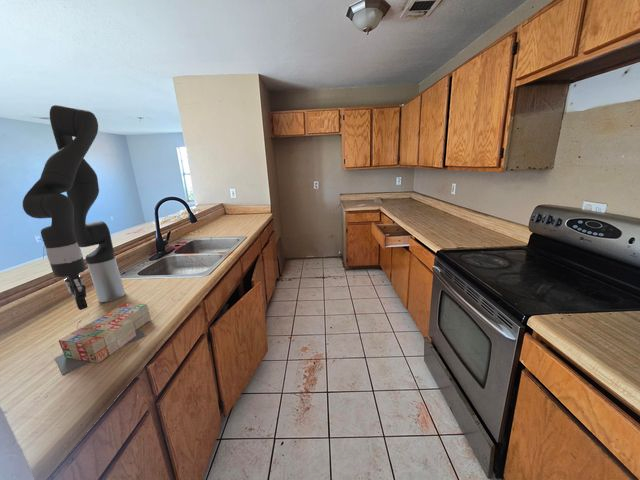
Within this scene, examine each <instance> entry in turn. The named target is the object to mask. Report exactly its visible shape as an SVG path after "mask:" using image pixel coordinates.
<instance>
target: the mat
mask: <svg viewBox="0 0 640 480" xmlns="http://www.w3.org/2000/svg"><path fill="white" fill-rule="evenodd" d="M135 332H136V336H135V337H134V338H132V339H131V340H130V341H128V342H127V343H126V344H125V345H123V346H122V347H121V348H123V347H125V346H126V345H129V344H131V343H133V342H135V341H137V340H139V339H142V338H143V337H146V336H147V334H146V333H144V332H143V331H142V330H141V328H138V329H137V330H135ZM54 360H55V361H56V364H57V366H58V368H59V370H60V371H61V375H63V376H64V375H66V374H68V373H70V372H73V371H74V370H77V369H79V368H81V367H83V366H85V365H88V364H89V363H90V362H88V361H82V360H76V359H68V358H65V356H64V353H63V354H61V355H58V356H56V357H54Z"/></svg>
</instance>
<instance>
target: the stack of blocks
mask: <svg viewBox="0 0 640 480" xmlns="http://www.w3.org/2000/svg"><path fill="white" fill-rule="evenodd" d="M149 321H151V314H150V311H149V307H148V304H145V303H124V304H123V305H120V306H119V307H116V308H114V309H113V310H111V311H109V312H108V313H106V314H104V315H102V316H101V317H99V318H97V319H96V320H94V321H92V322H90V323H88V324H86V325H84V326H82V327H80V328H78V329H76V330H74V331H73V332H71V333H70V334H67V335H66V336H64V337H61V338H60V339H58V342H59V346H60V348H61V350H62V353H63V354H64V356H65V358H68V359H76V360H82V361H88V362H89V363H97V364H99V363H101V362H102V361H103V360H105V359H106V358H108V357H109V356H111V355H112V354H114V353H115V352H117V350H119V349H121V348H123V347H124V346H123V345H125V344H126V343H127V342H128V341H130V340H131V339H132V338H134V337H135V336H136V332H135V330H137V329H141V327H142V326H144V325H145V324H146V323H148V322H149ZM122 346H123V347H122ZM125 346H126V345H125Z"/></svg>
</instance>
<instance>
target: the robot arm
mask: <svg viewBox="0 0 640 480" xmlns="http://www.w3.org/2000/svg"><path fill="white" fill-rule="evenodd" d="M49 121H50V126H51V129H52V134H53V136H54V140H55V144H56V146H57V151H55V152H54V153H53V154H52V155H51V156H49V157H48V159H47V160H46V161H45V164H44V167H43V170H42V172H41V174H40V178H39V179H38V180H37V181H36V182H35V183H34V184H33V185H32V187H31V188H30V189H29V190H28V192H26V194H25V196H24V197H23V200H22V209H23V211H24V213H25V214H26V215H28V216H29V217H31V218H34V219H51V225H49V226H45V227H43V228H42V229H40V235H41V239H42V240H43V244H44V246H45V250H46V256H47V259H48V261H49V265H50V267H51V270H52V273H53V275H54V277H56V278H65V279H63V282H64V284H65V285H66V287H67V290H68V292H69V293H70V295H71V296H72V299H73V300H74V301H75V303H76V304H75V305H76V307H77V309H78V310H79V311H82V310H85V309H88V306H89V305H88V303H87V300H86V297H87V292H86V291H87V290H86V285H85V284H84V283H85V280H84V278H83V276H81V275H79V274H81V273H83V272H85V271H86V270H87V268H88V271H89V274H90V276H91V277H90V278H91V280H92V284H93V287H94V290H95V293H96V296H97V300H98V302H99V303H110V302H114V301H116V300H119V299H121V298H123V297H124V296H125V295H126V291H125V288H124V284H123V280H122V276H121V273H120V270H119V267H118V264H117V263H118V262H117V260H116V256H115V251H114V250H115V249H114V246H113V242H112V236H111V231H110V228H109V227H108V225H107V224H106V222H104V221H102V220H96V221H90V222H86V221H87V220H86V219H87V216H88V212H89V211H90V209H91V208H92V206H93V205H94V203H95V202H96V199H97V198H98V196H99V193H100V188H99V187H100V186H99V180H98V175H97V173H96V171H95V170H94V168H93V167H92V166H91V165H90V164H89V163H88V161H86V160H85V156H86V154H88V152H89V150H90V148H91V146H92V145H93V143H94V142H95V140H96V138H97V135H98V132H99V122H98V119H97V117H96V115H95V114H94V113H93V112H92V111H89V110H87V109H83V108H77V107H72V106H68V105H61V104H52V105H51V107H50V109H49ZM73 137H74V138H73ZM63 193H66V194H63ZM96 245H98V246H97V248H95V250H93V251H91V252H90V253H88V254H86V256H85V257H84V256H83V253H82V249H81V248H87V247H88V248H89V247H92V246H96ZM84 259H85V260H84Z"/></svg>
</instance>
